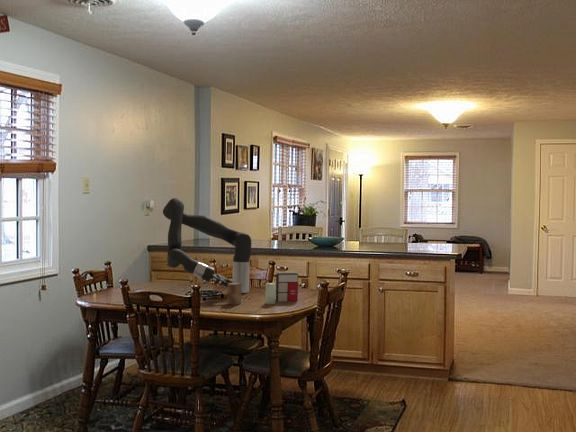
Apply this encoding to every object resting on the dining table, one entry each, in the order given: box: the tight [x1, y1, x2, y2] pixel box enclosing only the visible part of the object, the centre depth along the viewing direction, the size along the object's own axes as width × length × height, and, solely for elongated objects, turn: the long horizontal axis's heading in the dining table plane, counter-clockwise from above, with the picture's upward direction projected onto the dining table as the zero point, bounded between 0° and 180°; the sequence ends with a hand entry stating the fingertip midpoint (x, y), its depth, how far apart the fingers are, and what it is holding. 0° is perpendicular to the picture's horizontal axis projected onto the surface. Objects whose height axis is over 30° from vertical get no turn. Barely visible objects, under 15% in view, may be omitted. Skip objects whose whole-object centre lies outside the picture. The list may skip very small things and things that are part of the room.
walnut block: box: [226, 283, 242, 306], centre depth 327 cm, size 5×5×10 cm
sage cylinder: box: [264, 282, 276, 306], centre depth 330 cm, size 5×5×10 cm
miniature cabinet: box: [275, 272, 299, 302], centre depth 341 cm, size 11×4×15 cm, turn 105°
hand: (232, 285), depth 336 cm, fingers open, 8 cm apart
